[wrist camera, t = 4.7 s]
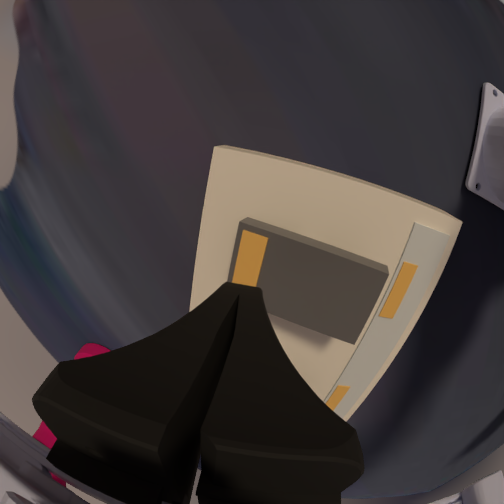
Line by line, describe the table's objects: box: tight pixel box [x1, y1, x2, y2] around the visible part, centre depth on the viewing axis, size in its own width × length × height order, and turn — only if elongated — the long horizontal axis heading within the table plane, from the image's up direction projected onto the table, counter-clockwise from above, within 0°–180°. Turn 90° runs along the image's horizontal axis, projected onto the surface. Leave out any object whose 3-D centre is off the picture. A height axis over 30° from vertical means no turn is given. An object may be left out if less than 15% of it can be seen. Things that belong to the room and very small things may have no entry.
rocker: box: [227, 217, 389, 345], centre depth 13 cm, size 7×4×1 cm, turn 77°
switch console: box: [190, 145, 462, 421], centre depth 17 cm, size 14×20×3 cm
